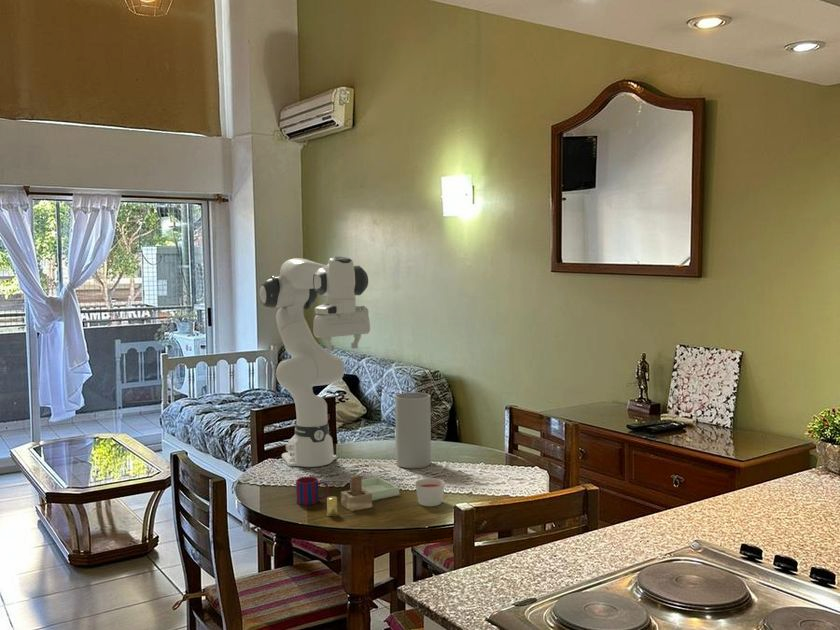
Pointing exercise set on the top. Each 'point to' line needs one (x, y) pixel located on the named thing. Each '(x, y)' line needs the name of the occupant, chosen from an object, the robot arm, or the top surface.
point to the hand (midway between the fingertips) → (342, 349)
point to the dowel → (356, 485)
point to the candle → (430, 491)
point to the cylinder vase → (413, 430)
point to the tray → (379, 488)
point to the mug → (308, 490)
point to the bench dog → (332, 506)
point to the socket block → (356, 500)
